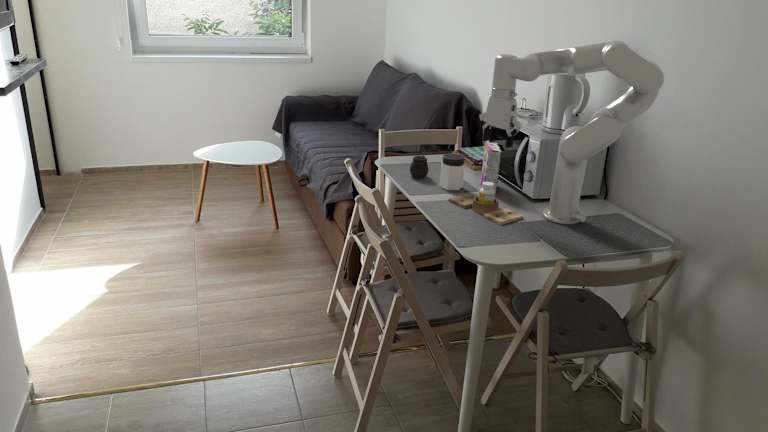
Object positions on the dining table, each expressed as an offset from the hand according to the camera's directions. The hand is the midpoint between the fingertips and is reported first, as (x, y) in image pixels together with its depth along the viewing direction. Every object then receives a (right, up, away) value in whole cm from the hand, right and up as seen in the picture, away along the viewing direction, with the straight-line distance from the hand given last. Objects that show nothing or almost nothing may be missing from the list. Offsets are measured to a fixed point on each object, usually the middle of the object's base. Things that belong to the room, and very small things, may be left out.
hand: (497, 143), depth 216 cm
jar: (-13, -14, +25) cm, 32 cm away
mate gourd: (-25, -9, +34) cm, 43 cm away
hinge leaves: (-3, -22, +5) cm, 23 cm away
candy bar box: (+1, -14, +27) cm, 30 cm away
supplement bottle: (-3, -22, +5) cm, 23 cm away
